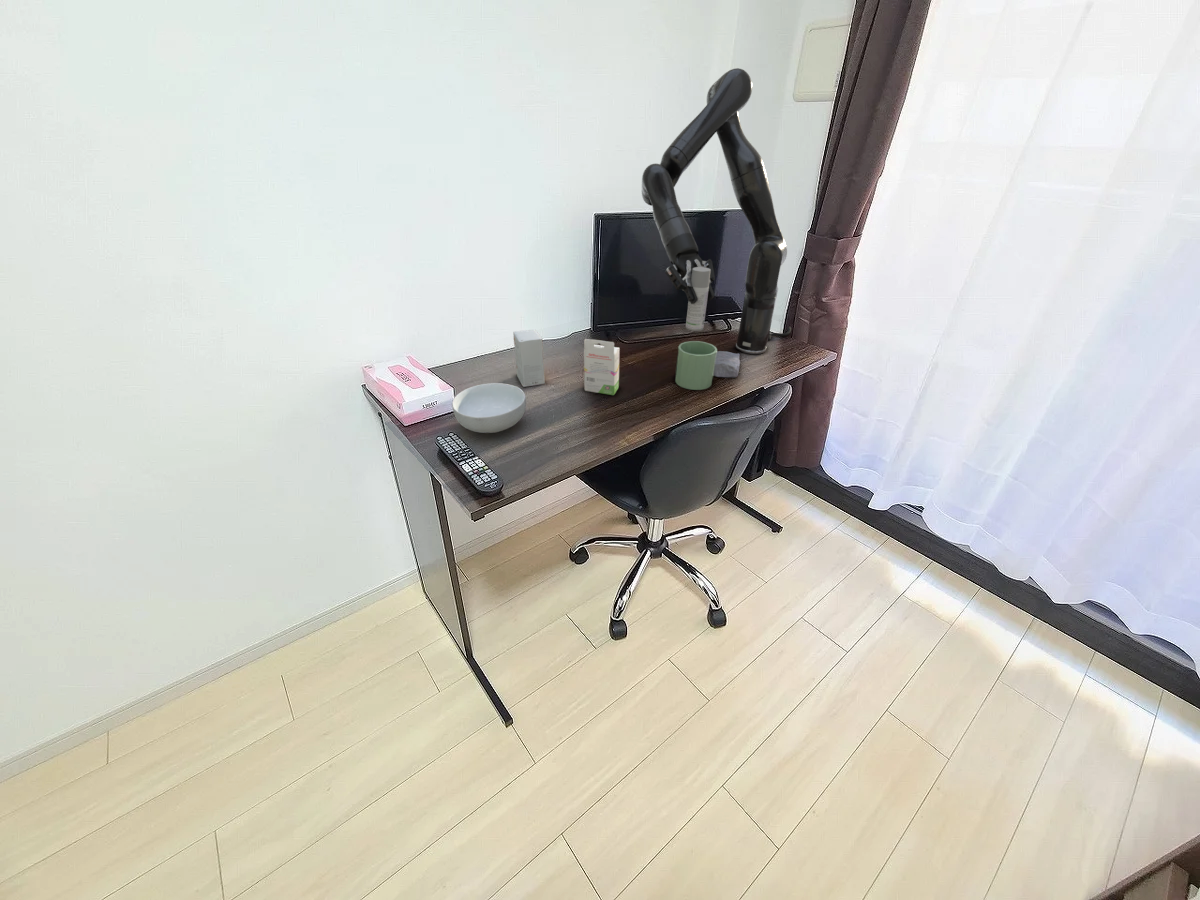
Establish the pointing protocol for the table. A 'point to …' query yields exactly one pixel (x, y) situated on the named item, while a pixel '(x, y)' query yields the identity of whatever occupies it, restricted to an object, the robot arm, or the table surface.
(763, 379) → the table surface
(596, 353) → the ink box
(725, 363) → the stone block
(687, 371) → the pen cup
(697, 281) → the container
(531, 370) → the small box
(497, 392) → the cereal bowl
